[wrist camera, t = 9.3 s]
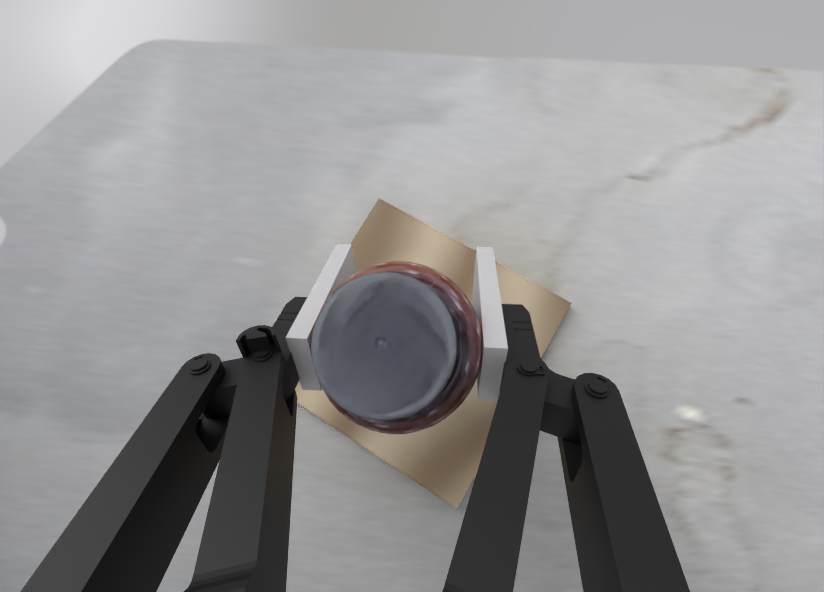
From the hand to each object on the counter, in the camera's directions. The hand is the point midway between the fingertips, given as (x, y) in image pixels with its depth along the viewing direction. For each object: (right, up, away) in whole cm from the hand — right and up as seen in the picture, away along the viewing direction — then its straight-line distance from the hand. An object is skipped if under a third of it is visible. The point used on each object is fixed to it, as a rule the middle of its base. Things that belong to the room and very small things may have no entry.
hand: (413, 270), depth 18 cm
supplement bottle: (0, -4, +3) cm, 5 cm away
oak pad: (0, -5, +7) cm, 9 cm away
